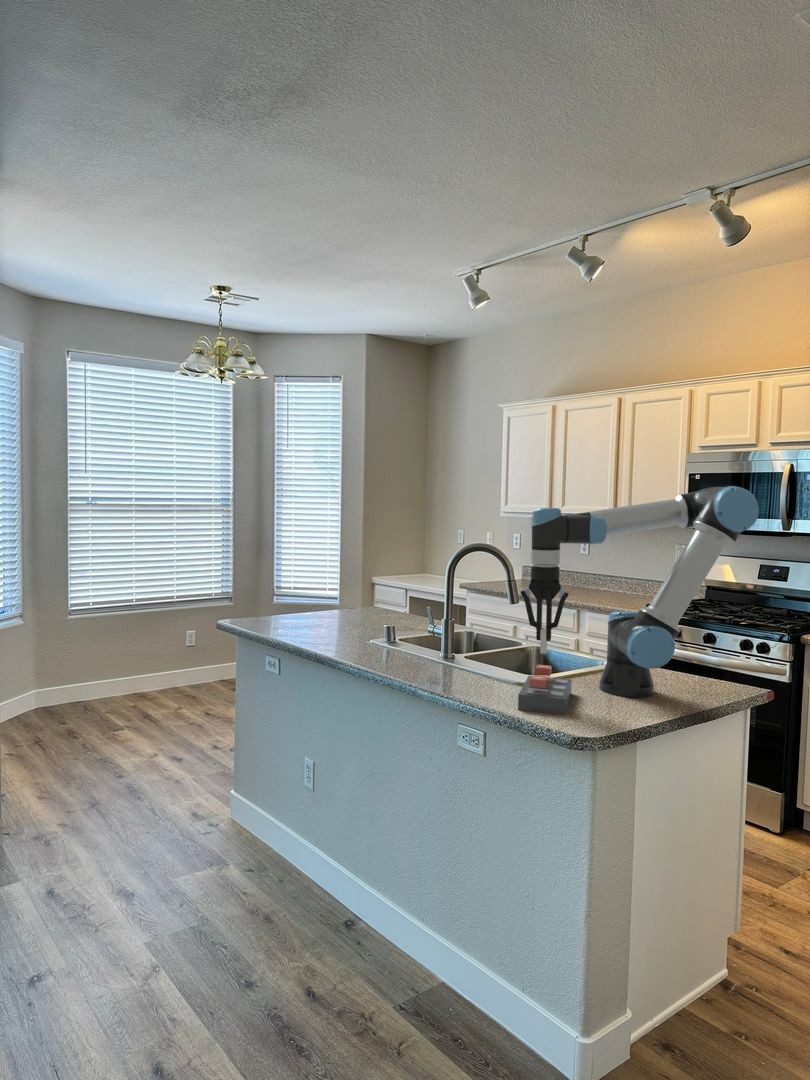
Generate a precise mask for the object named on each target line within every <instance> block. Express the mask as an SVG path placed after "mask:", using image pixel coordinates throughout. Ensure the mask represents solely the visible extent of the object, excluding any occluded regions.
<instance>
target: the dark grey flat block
mask: <svg viewBox="0 0 810 1080" xmlns="http://www.w3.org/2000/svg"><path fill="white" fill-rule="evenodd" d="M531 676H532V675H528V676H527V678H526V680H525V681H524V682H523V685H522V687H521V688H520V691H519V692H518V697H517V698H518V699H517V701H518V702H517V710H518V711H528V712H535V713H536V712H537V713H545V714H552V715H553V714H555V715H566V714H567V713H566V712H567V710H568V705H569V702H570V699H571V695H572V680H573V679H572V678H571V679H570V678H560V677H551V676H548V677H549V685H548V687H545V688H538V687H529V684H530V678H531Z"/></svg>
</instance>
